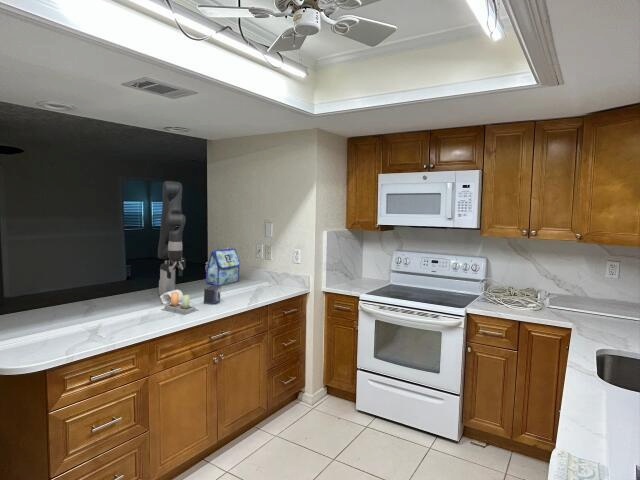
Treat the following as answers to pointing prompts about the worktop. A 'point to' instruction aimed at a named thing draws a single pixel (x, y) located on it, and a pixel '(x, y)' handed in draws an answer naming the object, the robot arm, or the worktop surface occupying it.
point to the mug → (167, 296)
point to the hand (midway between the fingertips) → (174, 277)
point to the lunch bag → (223, 267)
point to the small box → (212, 295)
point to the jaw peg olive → (185, 301)
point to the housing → (179, 309)
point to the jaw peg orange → (174, 299)
